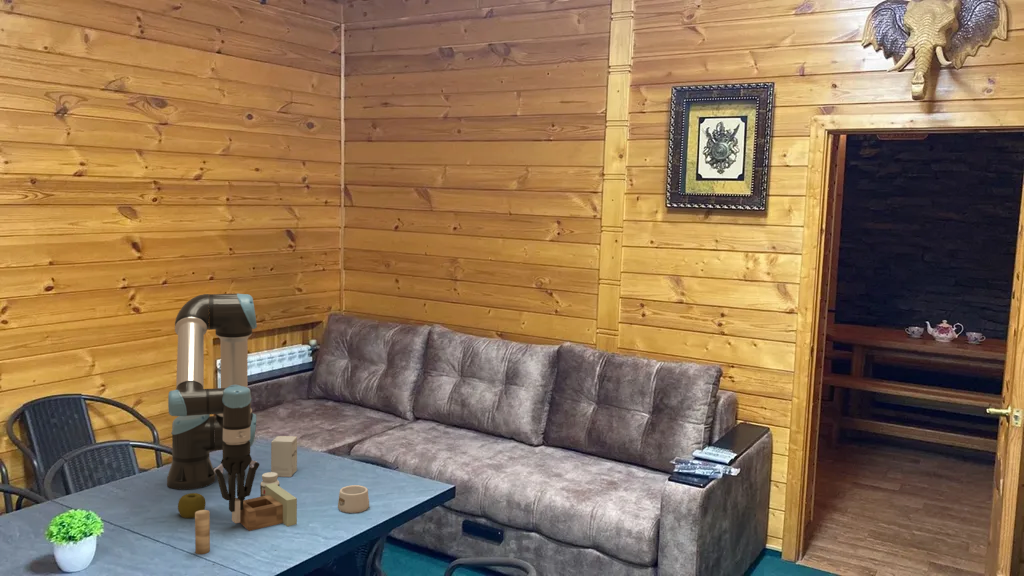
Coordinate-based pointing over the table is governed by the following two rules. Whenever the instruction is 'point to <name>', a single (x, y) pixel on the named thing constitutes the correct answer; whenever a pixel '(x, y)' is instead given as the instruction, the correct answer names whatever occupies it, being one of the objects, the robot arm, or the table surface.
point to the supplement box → (284, 455)
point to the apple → (191, 505)
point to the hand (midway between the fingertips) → (236, 521)
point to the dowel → (202, 532)
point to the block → (261, 512)
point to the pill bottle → (268, 481)
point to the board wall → (284, 503)
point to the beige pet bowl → (353, 499)
